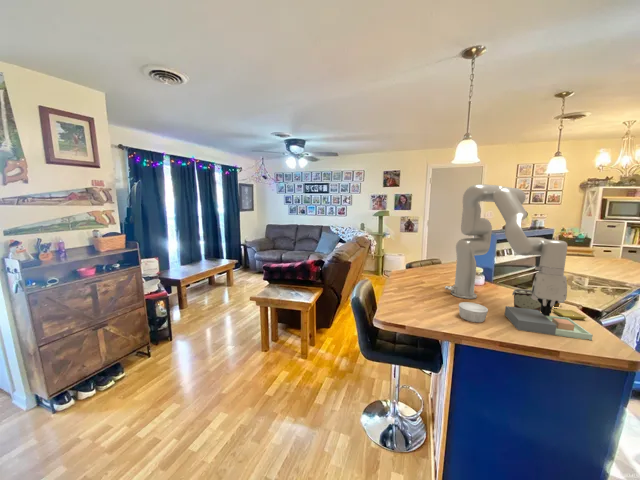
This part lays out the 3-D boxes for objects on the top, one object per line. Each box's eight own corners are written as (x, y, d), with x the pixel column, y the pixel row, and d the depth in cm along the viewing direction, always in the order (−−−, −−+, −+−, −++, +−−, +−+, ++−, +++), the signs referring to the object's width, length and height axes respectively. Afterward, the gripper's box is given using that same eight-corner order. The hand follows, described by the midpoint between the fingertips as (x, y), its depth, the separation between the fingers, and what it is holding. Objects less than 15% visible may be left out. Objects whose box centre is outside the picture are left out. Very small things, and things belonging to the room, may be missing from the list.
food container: (537, 311, 125) (539, 290, 124) (543, 316, 119) (545, 294, 118) (506, 307, 129) (508, 287, 128) (510, 311, 123) (513, 291, 122)
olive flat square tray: (563, 320, 116) (564, 315, 116) (550, 312, 125) (551, 308, 124) (586, 322, 115) (587, 317, 114) (571, 314, 123) (572, 309, 123)
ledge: (517, 329, 105) (519, 320, 104) (504, 314, 120) (505, 306, 119) (555, 335, 101) (556, 325, 101) (536, 318, 116) (537, 310, 116)
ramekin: (474, 325, 108) (476, 313, 107) (451, 315, 118) (452, 303, 118) (493, 321, 113) (494, 309, 112) (469, 311, 123) (470, 300, 122)
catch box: (555, 335, 101) (555, 329, 101) (536, 318, 116) (537, 313, 116) (591, 340, 97) (592, 334, 97) (568, 322, 112) (568, 317, 112)
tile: (574, 324, 104) (573, 330, 104) (567, 319, 108) (566, 325, 109) (558, 322, 105) (558, 328, 105) (552, 317, 110) (551, 323, 110)
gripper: (532, 271, 105) (527, 315, 107) (580, 275, 100) (573, 321, 102) (525, 267, 112) (520, 308, 114) (569, 270, 107) (563, 314, 109)
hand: (545, 314), depth 108 cm, fingers closed
